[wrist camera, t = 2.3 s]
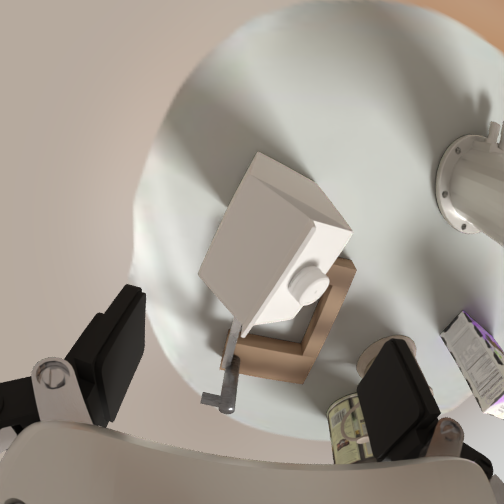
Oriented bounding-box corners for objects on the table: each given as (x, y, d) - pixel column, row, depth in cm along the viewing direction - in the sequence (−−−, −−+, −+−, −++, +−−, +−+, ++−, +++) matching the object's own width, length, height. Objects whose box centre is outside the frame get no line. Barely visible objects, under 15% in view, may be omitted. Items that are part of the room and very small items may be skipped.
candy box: (494, 337, 39) (537, 399, 24) (473, 360, 41) (510, 424, 26) (462, 308, 37) (517, 382, 22) (437, 336, 39) (482, 415, 24)
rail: (250, 240, 34) (248, 258, 30) (261, 243, 34) (259, 260, 30) (224, 345, 40) (220, 367, 36) (233, 346, 41) (229, 369, 36)
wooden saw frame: (251, 236, 34) (250, 244, 31) (351, 260, 34) (356, 270, 32) (221, 357, 42) (219, 369, 39) (301, 372, 42) (302, 384, 40)
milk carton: (227, 208, 33) (181, 310, 15) (257, 150, 30) (242, 188, 13) (284, 238, 34) (298, 360, 16) (317, 183, 31) (375, 262, 14)
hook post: (212, 350, 38) (201, 399, 30) (241, 356, 38) (235, 406, 30) (210, 359, 38) (199, 408, 31) (239, 365, 39) (232, 415, 31)
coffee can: (369, 423, 48) (382, 483, 35) (319, 424, 48) (326, 489, 35) (391, 390, 44) (412, 456, 31) (337, 390, 44) (349, 464, 31)
